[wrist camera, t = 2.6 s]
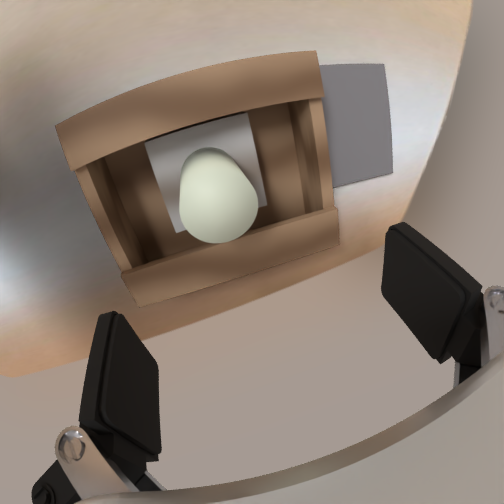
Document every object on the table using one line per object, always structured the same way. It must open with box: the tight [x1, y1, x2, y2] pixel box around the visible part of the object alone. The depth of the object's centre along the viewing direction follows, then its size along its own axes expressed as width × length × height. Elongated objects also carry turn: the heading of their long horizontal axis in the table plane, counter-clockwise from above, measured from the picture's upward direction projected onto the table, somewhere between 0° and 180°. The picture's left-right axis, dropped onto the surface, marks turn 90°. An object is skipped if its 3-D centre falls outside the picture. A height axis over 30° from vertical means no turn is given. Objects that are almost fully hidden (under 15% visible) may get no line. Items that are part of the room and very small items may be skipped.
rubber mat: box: [319, 64, 393, 187], centre depth 24 cm, size 12×8×1 cm, turn 12°
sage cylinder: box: [179, 147, 258, 243], centre depth 18 cm, size 4×4×7 cm
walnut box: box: [55, 51, 340, 308], centre depth 21 cm, size 16×18×6 cm
